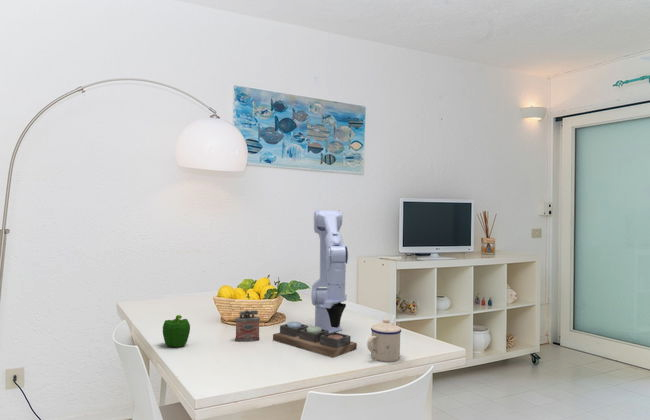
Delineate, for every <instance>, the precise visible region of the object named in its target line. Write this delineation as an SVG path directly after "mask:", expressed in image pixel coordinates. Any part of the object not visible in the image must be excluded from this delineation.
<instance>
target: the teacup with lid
mask: <svg viewBox="0 0 650 420" xmlns="http://www.w3.org/2000/svg"><path fill="white" fill-rule="evenodd" d="M370 330H371V336H370V337H369V338H368V340H367V341H366V342H367V343H366V347H367V350H368V351H369V352H370V356H371V358H372V359H373V358H374V359H373V360H375V359H376V360H375V361H378V360H379V361H378V362H386V363H387V362H388V363H391V362H396V361H398V360H400V356H401V332H402V329H401V327H400V326H398V325H396V324H394V323H392V322H390V319H389V318H383V319H382V321H381V322H378V323H377V324H373V325H372V326H371V328H370Z"/></svg>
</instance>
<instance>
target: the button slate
mask: <svg viewBox="0 0 650 420" xmlns="http://www.w3.org/2000/svg"><path fill="white" fill-rule="evenodd" d="M286 324H287V327H290V328H294V329H295V328H299V327H301V324H302V322H300V321H289V322H287V323H286Z"/></svg>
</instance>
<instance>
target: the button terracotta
mask: <svg viewBox="0 0 650 420" xmlns="http://www.w3.org/2000/svg"><path fill="white" fill-rule="evenodd" d="M328 337H329V338H333V339H340V338H343V336H341V335H329V336H328Z"/></svg>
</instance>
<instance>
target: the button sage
mask: <svg viewBox="0 0 650 420" xmlns="http://www.w3.org/2000/svg"><path fill="white" fill-rule="evenodd" d="M307 332H310V333H314V334H316V333H320V332H321V327H317V326H315V325H314V326H313V325H312V326H308V327H307Z"/></svg>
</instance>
